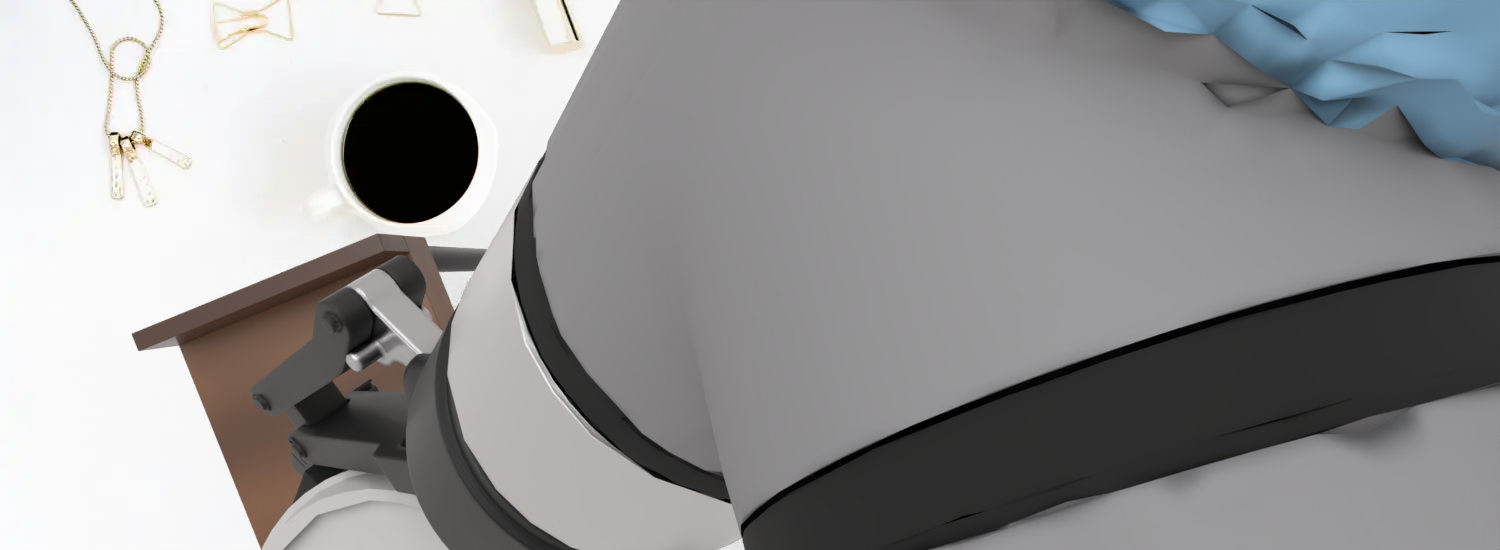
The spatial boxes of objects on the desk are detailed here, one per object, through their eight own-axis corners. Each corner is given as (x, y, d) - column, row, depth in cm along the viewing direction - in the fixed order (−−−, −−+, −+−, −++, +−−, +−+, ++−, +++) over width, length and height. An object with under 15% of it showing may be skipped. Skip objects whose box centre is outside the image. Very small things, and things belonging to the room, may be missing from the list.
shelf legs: (606, 413, 75) (522, 488, 50) (464, 470, 75) (310, 572, 50) (540, 248, 75) (423, 241, 50) (398, 306, 75) (211, 327, 50)
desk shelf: (527, 490, 50) (493, 521, 44) (308, 577, 50) (245, 619, 44) (425, 236, 50) (377, 232, 44) (207, 325, 50) (130, 333, 44)
